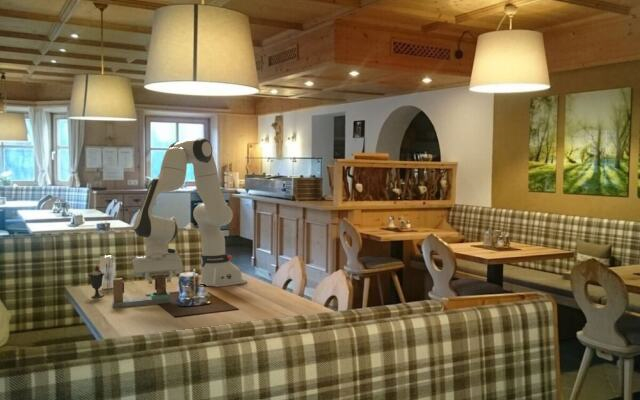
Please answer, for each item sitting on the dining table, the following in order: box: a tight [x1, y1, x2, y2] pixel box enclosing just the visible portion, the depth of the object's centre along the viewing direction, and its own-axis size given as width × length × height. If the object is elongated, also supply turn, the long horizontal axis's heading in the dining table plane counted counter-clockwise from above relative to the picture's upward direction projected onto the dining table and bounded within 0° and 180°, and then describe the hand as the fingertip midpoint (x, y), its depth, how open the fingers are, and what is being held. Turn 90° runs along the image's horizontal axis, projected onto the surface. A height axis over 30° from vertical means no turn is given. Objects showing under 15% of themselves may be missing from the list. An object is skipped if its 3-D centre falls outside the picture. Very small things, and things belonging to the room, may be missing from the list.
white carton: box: [99, 254, 116, 290], centre depth 274 cm, size 7×7×15 cm
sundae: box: [88, 263, 104, 299], centre depth 253 cm, size 7×7×15 cm
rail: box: [112, 277, 171, 309], centre depth 239 cm, size 22×7×11 cm, turn 111°
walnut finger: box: [154, 275, 167, 295], centre depth 242 cm, size 4×4×9 cm
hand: (159, 282), depth 241 cm, fingers open, 6 cm apart
